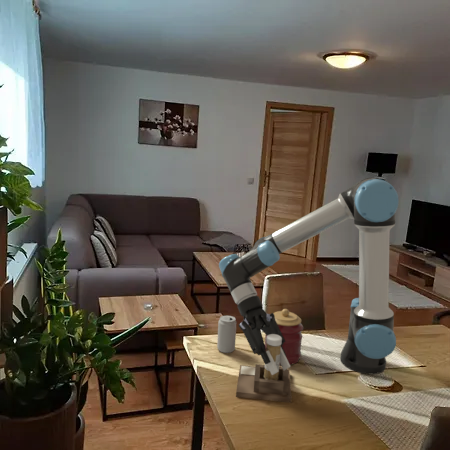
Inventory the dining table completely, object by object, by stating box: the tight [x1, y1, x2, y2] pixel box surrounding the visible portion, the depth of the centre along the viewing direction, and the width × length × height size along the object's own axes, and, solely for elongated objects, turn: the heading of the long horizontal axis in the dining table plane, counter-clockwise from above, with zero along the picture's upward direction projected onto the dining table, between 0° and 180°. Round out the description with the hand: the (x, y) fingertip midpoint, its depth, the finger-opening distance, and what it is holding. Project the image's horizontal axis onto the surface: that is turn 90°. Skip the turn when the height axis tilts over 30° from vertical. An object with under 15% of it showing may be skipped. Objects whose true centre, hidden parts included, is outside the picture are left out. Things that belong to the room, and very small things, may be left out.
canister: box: [264, 308, 304, 366], centre depth 149 cm, size 13×13×18 cm
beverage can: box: [216, 315, 237, 354], centre depth 153 cm, size 6×6×12 cm
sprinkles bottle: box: [264, 334, 282, 380], centre depth 128 cm, size 5×5×14 cm
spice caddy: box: [235, 363, 293, 403], centre depth 131 cm, size 16×16×5 cm
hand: (281, 370), depth 126 cm, fingers closed on sprinkles bottle, 4 cm apart
